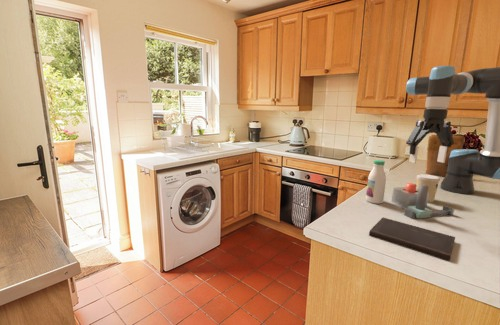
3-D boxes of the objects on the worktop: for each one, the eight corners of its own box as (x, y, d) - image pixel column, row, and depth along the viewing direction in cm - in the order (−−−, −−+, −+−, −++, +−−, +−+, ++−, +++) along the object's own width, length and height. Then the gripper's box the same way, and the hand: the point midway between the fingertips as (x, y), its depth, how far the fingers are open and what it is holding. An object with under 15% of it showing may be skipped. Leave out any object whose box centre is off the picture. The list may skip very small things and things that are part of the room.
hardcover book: (381, 222, 105) (382, 217, 104) (454, 243, 90) (455, 237, 89) (368, 236, 93) (369, 230, 92) (449, 263, 78) (450, 256, 78)
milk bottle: (381, 199, 130) (387, 159, 125) (384, 205, 122) (389, 162, 118) (364, 197, 132) (369, 158, 128) (366, 202, 125) (371, 161, 121)
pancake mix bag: (456, 179, 171) (465, 136, 165) (422, 174, 183) (428, 133, 177) (457, 177, 176) (465, 135, 170) (423, 172, 188) (430, 133, 182)
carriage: (418, 212, 114) (423, 183, 111) (430, 218, 108) (436, 187, 106) (407, 213, 113) (411, 183, 110) (418, 219, 107) (424, 188, 104)
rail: (444, 211, 116) (445, 205, 115) (452, 215, 112) (454, 208, 111) (404, 214, 111) (405, 208, 111) (411, 218, 108) (412, 212, 107)
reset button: (409, 195, 125) (411, 182, 124) (416, 197, 121) (418, 185, 120) (402, 195, 124) (404, 183, 123) (409, 198, 120) (411, 185, 119)
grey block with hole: (408, 200, 129) (411, 186, 128) (426, 208, 120) (428, 193, 118) (391, 201, 127) (393, 187, 126) (407, 209, 118) (410, 194, 116)
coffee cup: (439, 203, 126) (443, 179, 123) (417, 202, 128) (421, 178, 125) (430, 197, 135) (434, 174, 132) (410, 195, 137) (413, 173, 134)
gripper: (453, 109, 108) (443, 160, 112) (401, 107, 103) (393, 160, 107) (471, 109, 101) (460, 163, 105) (416, 107, 96) (407, 164, 100)
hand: (426, 162), depth 106 cm, fingers open, 13 cm apart
